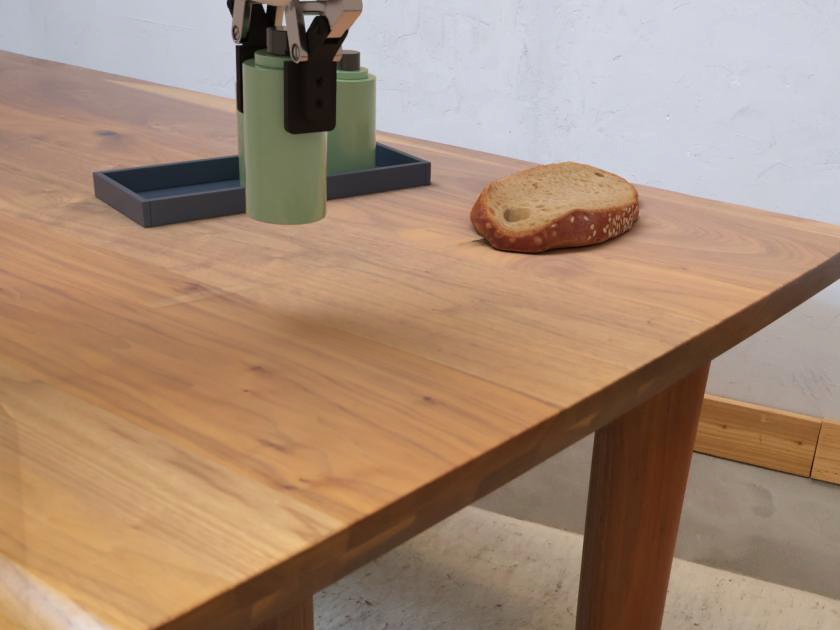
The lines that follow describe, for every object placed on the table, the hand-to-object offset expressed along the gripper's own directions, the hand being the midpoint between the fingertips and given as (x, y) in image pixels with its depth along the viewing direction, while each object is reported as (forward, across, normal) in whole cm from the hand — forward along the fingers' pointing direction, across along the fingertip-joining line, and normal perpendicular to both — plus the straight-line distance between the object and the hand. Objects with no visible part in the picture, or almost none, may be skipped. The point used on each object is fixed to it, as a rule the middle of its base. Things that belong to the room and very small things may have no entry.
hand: (285, 118), depth 69 cm
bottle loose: (+6, 0, 0) cm, 6 cm away
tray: (+13, -26, +13) cm, 31 cm away
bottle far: (+12, -26, +21) cm, 35 cm away
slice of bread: (+12, -9, +31) cm, 34 cm away
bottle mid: (+12, -26, +13) cm, 31 cm away
